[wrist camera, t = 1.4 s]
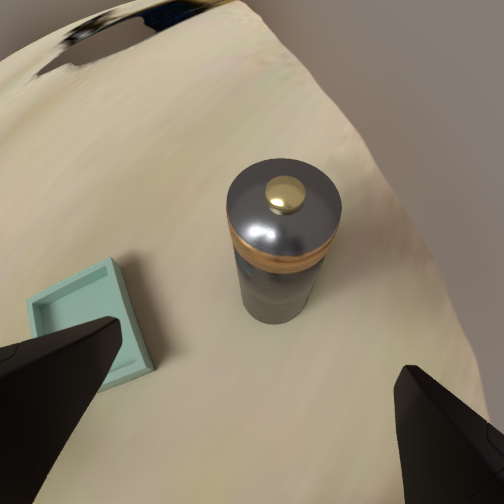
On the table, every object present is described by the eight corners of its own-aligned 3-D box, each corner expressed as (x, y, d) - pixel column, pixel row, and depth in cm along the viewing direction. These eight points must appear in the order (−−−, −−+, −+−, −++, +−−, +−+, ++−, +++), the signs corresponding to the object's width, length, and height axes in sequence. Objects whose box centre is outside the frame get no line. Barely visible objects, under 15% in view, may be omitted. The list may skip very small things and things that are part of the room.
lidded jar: (318, 306, 22) (369, 214, 11) (259, 336, 21) (258, 266, 11) (286, 253, 24) (304, 136, 13) (230, 279, 23) (205, 172, 13)
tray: (155, 370, 20) (146, 367, 18) (62, 405, 19) (48, 404, 17) (120, 267, 24) (110, 256, 22) (39, 307, 22) (26, 299, 21)
